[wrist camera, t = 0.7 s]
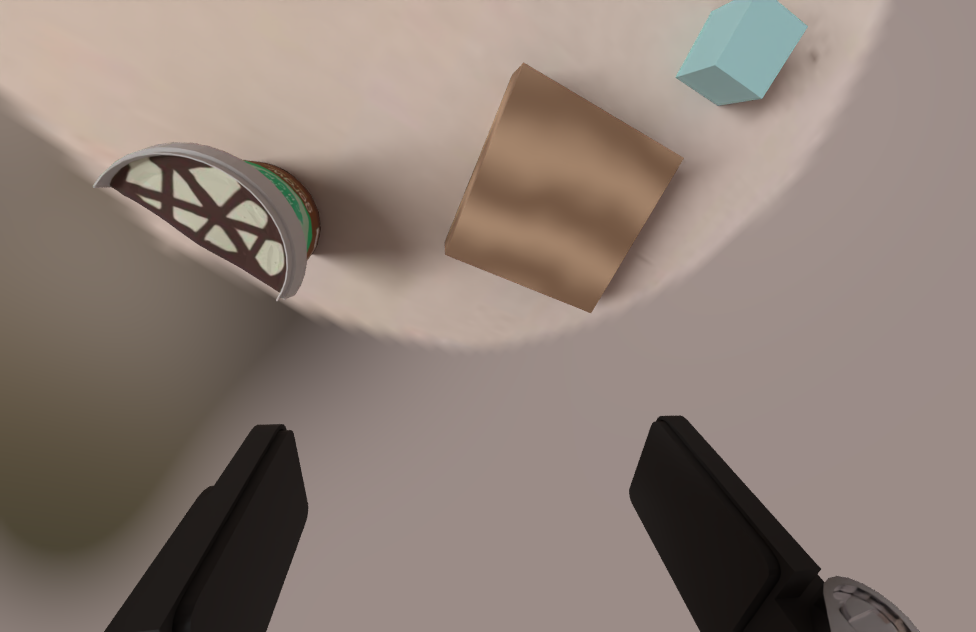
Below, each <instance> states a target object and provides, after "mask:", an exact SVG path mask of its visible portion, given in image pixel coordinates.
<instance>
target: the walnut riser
mask: <svg viewBox="0 0 976 632" xmlns="http://www.w3.org/2000/svg"><path fill="white" fill-rule="evenodd" d="M683 159H684V158H683V157H681V156H679V155H678V154H676V153H674V152H673V151H671V150H669V149H668V148H666V147H664V146H663V145H661V144H659V143H658V142H656V141H654V140H653V139H651V138H649V137H648V136H646V135H644V134H643V133H641V132H639V131H637V130H636V129H634V128H632V127H631V126H629V125H627V124H626V123H624V122H622V121H621V120H619V119H617V118H616V117H614V116H612V115H611V114H609V113H607V112H606V111H604V110H602V109H601V108H599V107H597V106H596V105H594V104H592V103H590V102H589V101H587V100H585V99H584V98H582V97H580V96H579V95H577V94H575V93H574V92H572V91H570V90H569V89H567V88H565V87H564V86H562V85H560V84H559V83H557V82H555V81H554V80H552V79H550V78H548V77H547V76H545V75H543V74H542V73H540V72H538V71H537V70H535V69H533V68H532V67H530V66H528V65H527V64H525V63H523V64H522V65H521V66H520V67H519V68H518V69H517V70H516V71H515V72H514V74H513V75H512V77H511V79H510V82H509V84H508V87H507V89H506V92H505V94H504V97H503V99H502V102H501V104H500V107H499V109H498V111H497V114H496V116H495V119H494V121H493V124H492V126H491V129H490V131H489V134H488V136H487V139H486V141H485V144H484V146H483V149H482V151H481V154H480V156H479V159H478V161H477V164H476V166H475V169H474V171H473V174H472V176H471V179H470V181H469V184H468V186H467V188H466V191H465V193H464V196H463V198H462V201H461V203H460V206H459V208H458V211H457V213H456V216H455V218H454V221H453V223H452V226H451V228H450V231H449V233H448V236H447V238H446V241H445V255H447V256H450V257H452V258H455V259H457V260H460V261H462V262H465V263H467V264H470V265H472V266H475V267H477V268H480V269H482V270H485V271H487V272H490V273H492V274H495V275H497V276H500V277H502V278H505V279H507V280H510V281H512V282H515V283H517V284H520V285H522V286H525V287H527V288H530V289H532V290H535V291H537V292H539V293H542V294H544V295H547V296H549V297H552V298H554V299H557V300H559V301H562V302H564V303H567V304H569V305H572V306H574V307H577V308H579V309H582V310H584V311H587V312H589V313H591V312H592V311H593V309H594V307H595V306H596V304H597V302H598V301H599V299H600V297H601V296H602V294H603V292H604V291H605V289H606V287H607V286H608V284H609V282H610V281H611V279H612V277H613V276H614V274H615V272H616V271H617V269H618V267H619V266H620V264H621V262H622V261H623V259H624V257H625V256H626V254H627V252H628V251H629V249H630V247H631V246H632V244H633V242H634V241H635V239H636V237H637V236H638V234H639V232H640V231H641V229H642V227H643V225H644V224H645V222H646V220H647V219H648V217H649V215H650V214H651V212H652V210H653V209H654V207H655V205H656V204H657V202H658V200H659V199H660V197H661V195H662V194H663V192H664V190H665V189H666V187H667V185H668V184H669V182H670V180H671V179H672V177H673V175H674V174H675V172H676V170H677V169H678V167H679V165H680V164H681V162H682V160H683Z"/></svg>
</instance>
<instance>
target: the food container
mask: <svg viewBox="0 0 976 632" xmlns="http://www.w3.org/2000/svg"><path fill="white" fill-rule="evenodd" d="M93 187H94V188H99V187H112V188H114V189H115V190H117V191H119V192H120V193H121V194H123V195H124V196H126V197H128V198H130V199H132V200H134V201H135V202H137V203H139V204H141V205H142V206H144V207H145V208H147V209H148V210H150V211H151V212H153V213H154V214H156V215H158V216H159V217H161V218H162V219H163V220H165V221H166V222H168V223H169V224H170V225H172V226H173V227H175V228H176V229H177V230H179V231H180V232H181V233H183V234H184V235H185V236H187V237H188V238H190V239H191V240H193V241H194V242H195V243H197V244H198V245H200V246H202V247H203V248H205V249H207V250H209V251H211V252H212V253H214V254H216V255H218V256H220V257H222V258H224V259H225V260H227V261H229V262H231V263H233V264H234V265H236V266H238V267H240V268H241V269H243V270H245V271H246V272H248V273H249V274H251V275H253V276H254V277H256V278H257V279H259V280H261V281H262V282H264V283H265V284H267V285H269V286H270V287H272V288H273V289H275V290H276V291H278V292H280V294H279V296H278V298H277V299H276V301H278V300H279V299H280V298H283V299H284V300H285V299H287V298H289V297H291V296H294V295H295V294H296V293H297V291H298V289H299V287H300V286H301V283H302V281H303V278H304V275H305V270H306V264H307V260H308V259H309V257H310V256H311V255H312V253H313V251H314V249H315V248H316V246H317V244H318V239H319V235H320V230H321V227H320V219H319V212H318V209H317V207H316V205H315V203H314V201H313V199H312V196H311V194H310V193H309V192H308V191H307V190H306V188H305V187H304V186H303V185H302V183H301V182H299V181H298V180H297V179H296V178H295V177H294V176H292V175H291V174H289V173H288V172H286V171H285V170H283V169H280V168H278V167H276V166H273V165H270V164H267V163H261V162H255V161H246V160H242V159H239V158H237V157H235V156H233V155H231V154H229V153H227V152H225V151H222V150H219V149H216V148H213V147H210V146H205V145H200V144H194V143H178V142H172V143H165V144H158V145H154V146H151V147H148V148H145V149H143V150H140V151H137V152H134V153H131V154H128V155H126V156H124V157H123V158H121V159H119V160H117V161H116V162H114V163H113V164H112V165H111V166H110V167H109V168H108V169H107V170H106V171H105V172H104V173H102V174H101V175H100V176H99V178H98V179H97V181H96V182H95V184H94V185H93Z"/></svg>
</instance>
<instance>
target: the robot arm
mask: <svg viewBox="0 0 976 632" xmlns="http://www.w3.org/2000/svg"><path fill="white" fill-rule="evenodd" d="M629 494H630V499H631V502H632V504H633V506H634V508H635V510H636V512H637V514H638V516H639V517H640V519H641V521H642V523H643V525H644V527H645V529H646V531H647V532H648V534H649V536H650V538H651V540H652V542H653V544H654V546H655V548H656V549H657V551H658V553H659V555H660V557H661V559H662V561H663V562H664V564H665V566H666V568H667V570H668V572H669V574H670V576H671V577H672V579H673V581H674V583H675V585H676V587H677V589H678V591H679V592H680V594H681V596H682V598H683V600H684V602H685V604H686V606H687V608H688V609H689V611H690V613H691V615H692V617H693V619H694V621H695V623H696V625H697V626H698V628H699V630H700V632H920V631H919V630H918V629H917V628H916V626H915V625H914V624H913V623H912V622H911V620H910V619H909V618H908V617H907V616H906V615H905V614H904V613H903V612H902V611H901V610H899V608H898V607H897V606H896V605H894V604H893V603H892V602H890V601H889V600H888V599H886V598H885V597H884V596H883V595H881V594H880V593H879V592H877V591H875V590H873V589H871V588H870V587H868V586H866V585H865V584H863V583H860V582H858V581H855V580H853V579H850V578H846V577H840V576H835V577H831V578H828V579H827V580H826V582H824V581H823V580H822V579H821V578H820V577H819V576H818V572H819V571H820V570H821V568H820V567H819V566H818V565H817V564H816V563H815V562H814V561H813V559H812V558H811V557H810V556H809V555H808V554H807V553H806V552H805V551H804V550H803V548H802V547H801V546H800V545H799V544H798V543H797V542H796V541H795V539H793V537H792V536H791V535H790V534H789V533H788V532H787V531H786V529H785V528H784V527H783V526H782V525H781V524H780V523H779V522H778V521H777V519H775V517H774V516H773V515H772V514H771V513H770V512H769V511H768V510H767V508H766V507H765V506H764V505H763V504H762V503H761V502H760V500H759V499H758V498H757V497H756V496H755V495H754V494H753V493H752V492H751V490H749V488H748V487H747V486H746V485H745V484H744V483H743V482H742V480H741V479H740V478H739V477H738V476H737V475H736V474H735V473H734V472H733V470H732V469H731V468H730V467H729V466H728V465H727V464H726V463H725V462H724V460H723V459H722V458H721V457H720V456H719V455H718V454H717V453H716V451H715V450H714V449H713V448H712V447H711V446H710V445H709V444H708V443H707V442H706V440H704V438H703V437H702V436H701V435H700V434H699V433H698V431H697V430H696V429H695V428H694V427H693V426H692V425H691V424H690V423H689V421H688V420H687V419H685V418H684V417H683V416H660V417H659V418H658V419H657V420H656V422H653V423H652V425H651V428H650V430H649V434H648V437H647V439H646V442H645V446H644V448H643V451H642V454H641V457H640V460H639V462H638V466H637V468H636V471H635V474H634V477H633V480H632V483H631V486H630V489H629ZM307 515H308V502H307V497H306V492H305V487H304V482H303V477H302V472H301V467H300V462H299V457H298V452H297V448H296V442H295V437H294V433H293V431H291V430H286V427H285V426H284V425H283V424H273V425H256V426H255V427H254V428H253V429H252V430H251V431H250V433H249V434H248V436H247V437H246V439H245V440H244V442H243V443H242V445H241V447H240V448H239V449H238V451H237V452H236V454H235V455H234V457H233V458H232V460H231V461H230V463H229V464H228V466H227V467H226V469H225V470H224V472H223V473H222V475H221V476H220V478H219V479H218V481H217V482H216V484H215V485H214V486H210V487H208V488H207V489H205V490H204V491H203V492H202V493H201V494H200V495H199V497H198V498H197V499H196V501H195V502H194V504H193V505H192V506H191V508H190V509H189V511H188V512H187V513H186V515H185V516H184V518H183V519H182V521H181V522H180V524H179V525H178V527H177V528H176V529H175V531H174V532H173V534H172V535H171V537H170V538H169V539H168V541H167V543H166V544H165V545H164V546H163V548H162V549H161V551H160V552H159V554H158V555H157V557H156V558H155V559H154V561H153V562H152V564H151V565H150V567H149V568H148V570H147V571H146V572H145V574H144V575H143V577H142V578H141V580H140V581H139V583H138V584H137V585H136V587H135V588H134V590H133V591H132V593H131V594H130V595H129V597H128V598H127V600H126V601H125V603H124V604H123V606H122V607H121V608H120V610H119V611H118V613H117V614H116V615H115V617H114V618H113V620H112V621H111V623H110V624H109V625H108V627H107V628H106V630H105V631H104V632H266V630H267V628H268V625H269V622H270V619H271V616H272V614H273V611H274V608H275V605H276V603H277V600H278V597H279V594H280V592H281V589H282V586H283V584H284V581H285V578H286V575H287V572H288V570H289V567H290V564H291V562H292V559H293V556H294V553H295V551H296V548H297V545H298V542H299V540H300V537H301V534H302V531H303V529H304V525H305V522H306V520H307Z"/></svg>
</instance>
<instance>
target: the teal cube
mask: <svg viewBox="0 0 976 632" xmlns="http://www.w3.org/2000/svg"><path fill="white" fill-rule="evenodd" d="M807 27H808V26H807V25H806V24H804V23H803V22H802V21H801V20H800V19H798V18H797V17H796V16H795V15H794V14H792V13H791V12H790V11H789V10H788V9H786V8H785V7H784V6H783V5H782V4H780V3H779V2H778V1H777V0H733V1H731V2H730V3H728V4H726V5H724V6H722V7H720V8H718V9H716V10H714V11H712V12H711V14H710V15H709V17H708V19H707V21H706V23H705V25H704V26H703V28H702V30H701V32H700V34H699V35H698V37H697V39H696V41H695V43H694V45H693V46H692V48H691V50H690V52H689V54H688V56H687V57H686V59H685V61H684V63H683V65H682V67H681V68H680V70H679V72H678V74H677V76H676V78H677V79H679V80H680V81H682V82H683V83H685V84H686V85H687V86H689V87H690V88H692V89H693V90H695V91H696V92H698V93H699V94H701V95H702V96H704V97H705V98H707V99H708V100H710V101H711V102H713V103H714V104H716V105H717V106H719V105H726V104H732V103H738V102H744V101H750V100H757V99H762V98H763V96H764V95H765V93H766V92H767V90H768V88H769V87H770V85H771V84H772V82H773V81H774V79H775V77H776V76H777V74H778V73H779V71H780V70H781V68H782V66H783V65H784V63H785V62H786V60H787V59H788V57H789V55H790V54H791V52H792V51H793V49H794V48H795V46H796V44H797V43H798V41H799V40H800V38H801V37H802V35H803V33H804V32H805V30H806V29H807Z"/></svg>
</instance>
